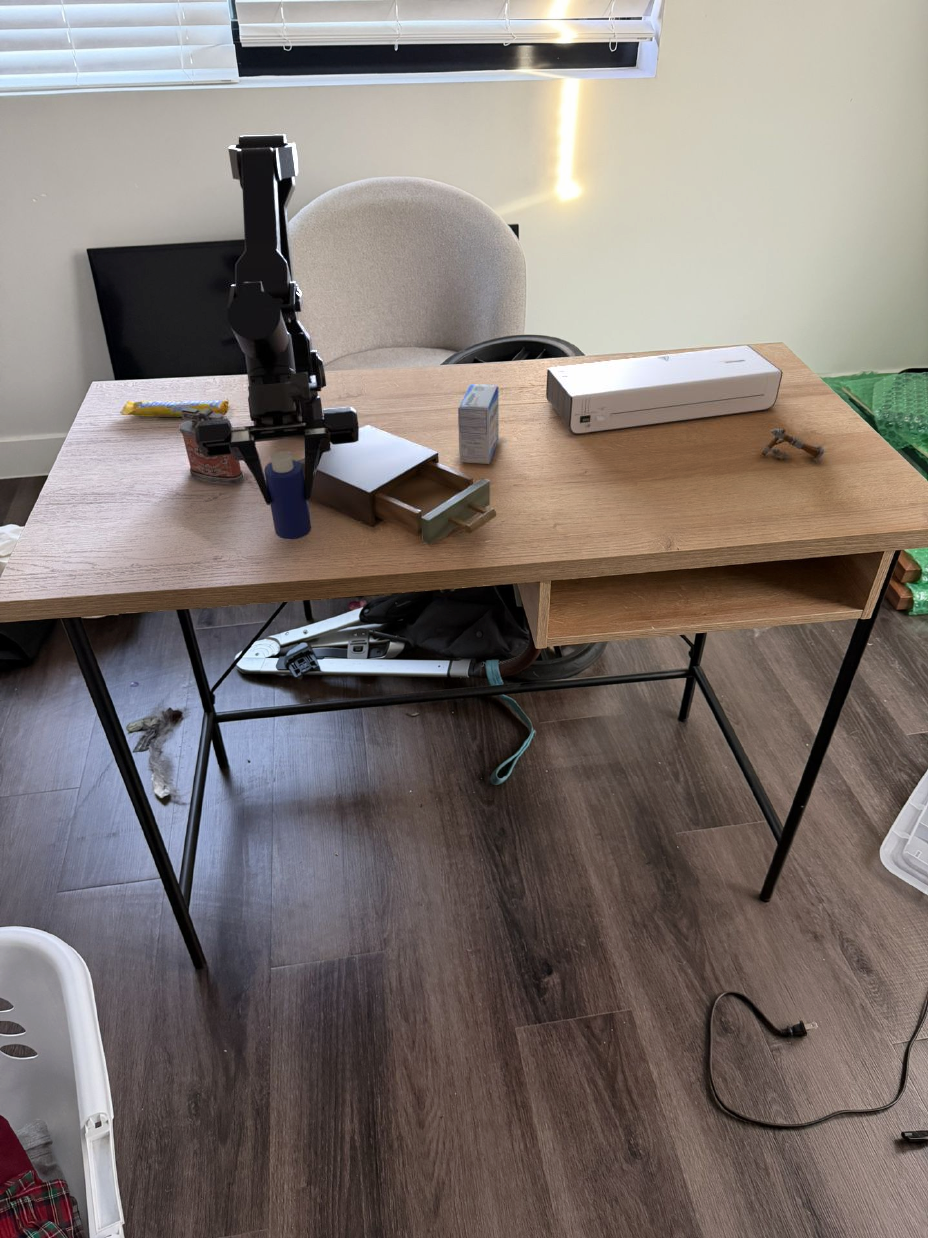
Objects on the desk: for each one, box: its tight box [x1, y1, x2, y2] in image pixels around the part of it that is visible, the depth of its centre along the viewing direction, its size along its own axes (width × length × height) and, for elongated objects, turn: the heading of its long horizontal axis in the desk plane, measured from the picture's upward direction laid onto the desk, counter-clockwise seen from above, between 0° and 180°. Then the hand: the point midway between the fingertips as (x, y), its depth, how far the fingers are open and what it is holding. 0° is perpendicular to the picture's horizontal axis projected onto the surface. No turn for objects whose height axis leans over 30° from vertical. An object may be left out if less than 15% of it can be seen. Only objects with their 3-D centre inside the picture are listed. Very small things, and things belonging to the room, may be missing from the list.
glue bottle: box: [263, 450, 312, 540], centre depth 102 cm, size 4×4×10 cm
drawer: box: [373, 461, 497, 546], centre depth 110 cm, size 16×12×4 cm
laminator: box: [545, 345, 784, 436], centre depth 133 cm, size 34×12×6 cm, turn 104°
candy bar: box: [119, 397, 230, 418], centre depth 136 cm, size 17×4×2 cm, turn 91°
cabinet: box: [297, 424, 440, 529], centre depth 115 cm, size 13×13×5 cm
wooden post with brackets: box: [761, 427, 825, 463], centre depth 121 cm, size 2×8×4 cm, turn 86°
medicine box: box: [457, 383, 500, 465], centre depth 122 cm, size 8×4×9 cm, turn 168°
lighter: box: [178, 407, 245, 485], centre depth 117 cm, size 8×3×10 cm, turn 71°
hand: (288, 502), depth 101 cm, fingers closed on glue bottle, 4 cm apart
